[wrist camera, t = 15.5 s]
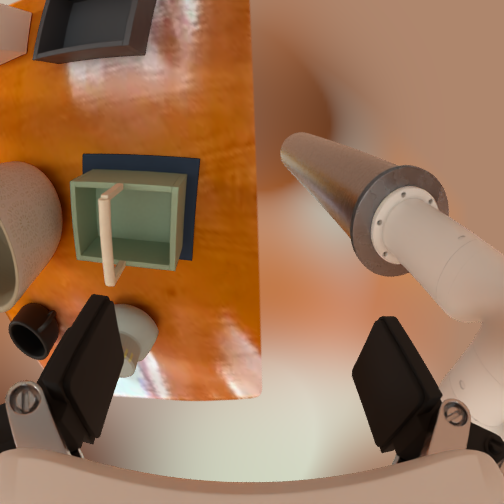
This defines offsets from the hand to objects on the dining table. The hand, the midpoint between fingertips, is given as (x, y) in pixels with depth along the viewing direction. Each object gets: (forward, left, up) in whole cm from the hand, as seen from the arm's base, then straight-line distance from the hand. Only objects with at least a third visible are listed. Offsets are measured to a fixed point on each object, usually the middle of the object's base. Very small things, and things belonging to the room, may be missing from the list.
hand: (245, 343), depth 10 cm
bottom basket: (+19, -19, -29) cm, 40 cm away
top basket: (+12, +6, -29) cm, 32 cm away
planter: (+30, +7, -29) cm, 43 cm away
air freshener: (+14, +26, -29) cm, 42 cm away
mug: (+32, +28, -29) cm, 52 cm away
